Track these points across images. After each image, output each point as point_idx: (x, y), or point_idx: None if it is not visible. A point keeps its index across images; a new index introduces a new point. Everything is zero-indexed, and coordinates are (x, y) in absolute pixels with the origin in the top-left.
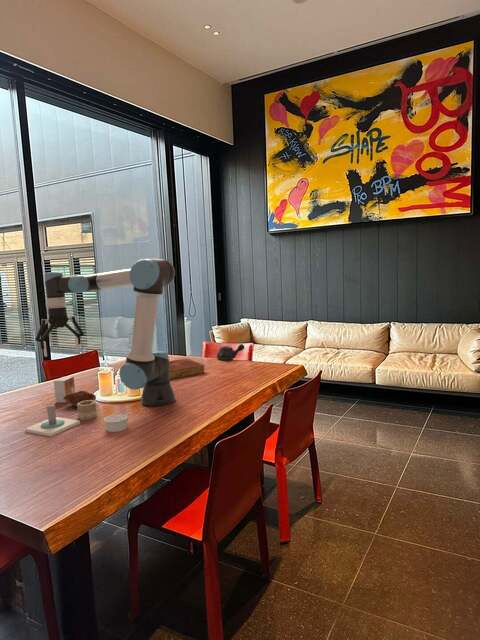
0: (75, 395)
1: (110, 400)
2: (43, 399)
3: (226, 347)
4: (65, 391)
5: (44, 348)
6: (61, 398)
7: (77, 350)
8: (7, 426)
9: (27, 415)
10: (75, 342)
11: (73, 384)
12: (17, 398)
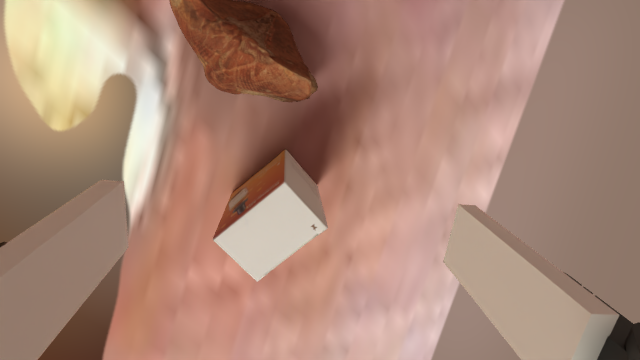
0: (265, 46)
1: (101, 21)
2: (339, 263)
3: None
4: (283, 164)
5: (536, 253)
6: (300, 169)
7: (113, 187)
8: (553, 11)
9: (453, 96)
10: (62, 311)
11: (226, 214)
12: (402, 336)
